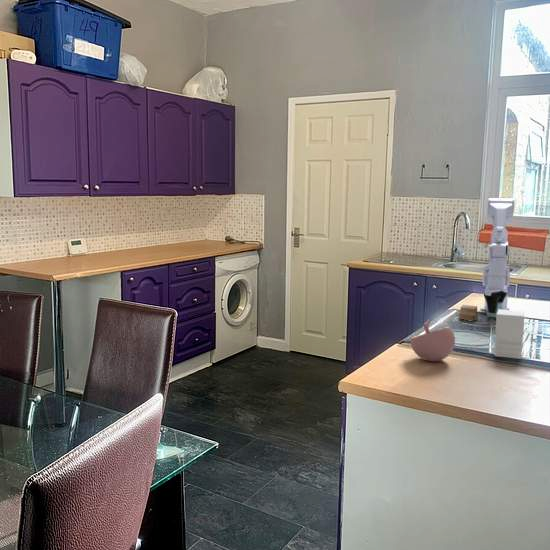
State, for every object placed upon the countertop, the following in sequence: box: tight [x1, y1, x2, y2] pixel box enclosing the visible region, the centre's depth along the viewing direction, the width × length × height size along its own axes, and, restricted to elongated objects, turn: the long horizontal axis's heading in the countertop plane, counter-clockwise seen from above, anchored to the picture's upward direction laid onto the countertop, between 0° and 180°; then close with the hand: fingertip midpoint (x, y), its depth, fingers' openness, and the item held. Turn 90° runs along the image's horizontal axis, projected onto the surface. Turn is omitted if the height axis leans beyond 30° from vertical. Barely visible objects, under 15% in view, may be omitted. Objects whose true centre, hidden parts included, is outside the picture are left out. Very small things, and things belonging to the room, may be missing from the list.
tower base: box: [458, 312, 479, 322], centre depth 207 cm, size 5×5×2 cm
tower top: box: [459, 304, 478, 315], centre depth 207 cm, size 5×5×2 cm
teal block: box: [486, 302, 503, 318], centre depth 208 cm, size 4×4×5 cm
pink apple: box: [409, 319, 456, 362], centre depth 157 cm, size 12×12×11 cm
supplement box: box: [494, 309, 525, 360], centre depth 163 cm, size 7×7×13 cm
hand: (494, 311), depth 209 cm, fingers closed on teal block, 4 cm apart
